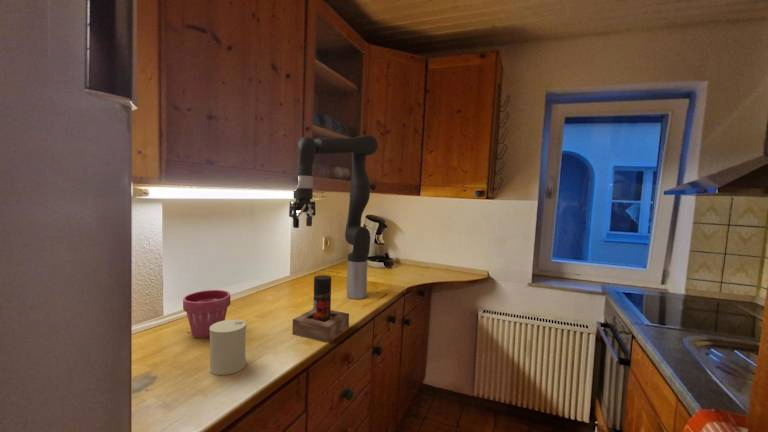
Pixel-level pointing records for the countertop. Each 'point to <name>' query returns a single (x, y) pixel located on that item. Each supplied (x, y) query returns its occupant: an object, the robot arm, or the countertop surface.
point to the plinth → (320, 326)
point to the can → (227, 346)
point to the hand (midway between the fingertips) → (302, 227)
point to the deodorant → (322, 298)
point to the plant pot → (205, 310)
